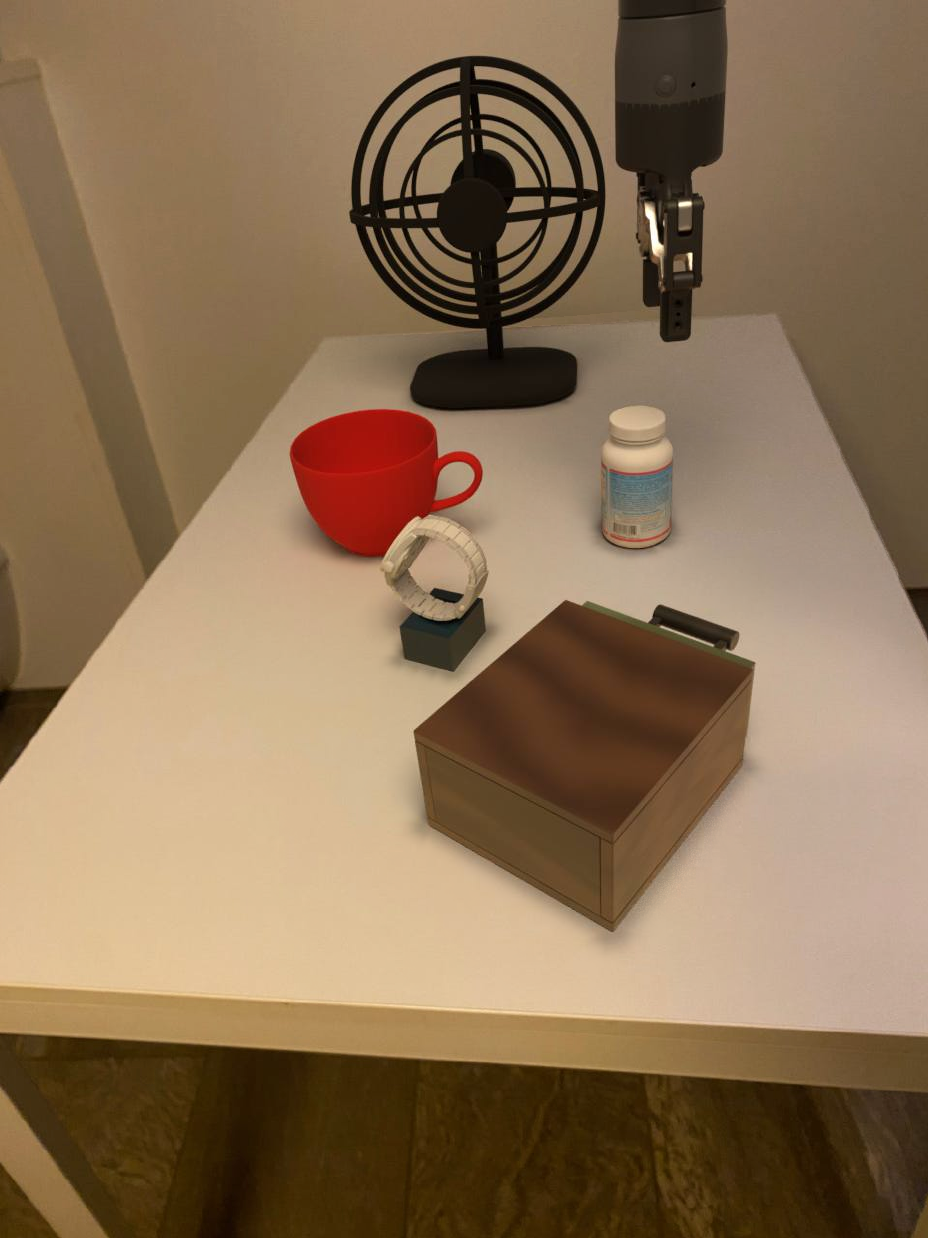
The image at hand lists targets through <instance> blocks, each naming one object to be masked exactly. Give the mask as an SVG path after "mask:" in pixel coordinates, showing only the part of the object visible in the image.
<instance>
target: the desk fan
mask: <svg viewBox="0 0 928 1238" xmlns="http://www.w3.org/2000/svg"><path fill="white" fill-rule="evenodd" d="M475 67H481V68H482V67H483V68H491V69H499V70H503V71H507V72H510V73H513V74H516V75H519V76H521V77H523V78H525V79H527V80H529V81H531V82H533V83H534V84H536V85H538V86H539V87H541V88H542V89H544V90H545V91H546V92H548V93H549V94H550V95H551V96H552V97H554V99H556V100H557V101H558V102H559V103H560V104H561V105H562V106H563V107H564V108H565V110H566V112H568V113H569V115H570V116H571V117H572V119H573V121H574V122H575V124H576V125H577V127H578V128H579V130H580V132H581V134H582V136H583V137H584V140H585V142H586V144H587V146H588V149H589V152H590V155H591V158H592V162H593V166H594V171H595V177H596V185H597V190H595V189H591V188H585V183H584V174H583V168H582V164H581V161H580V156H579V153H578V150H577V148H576V145H575V143H574V141H573V139H572V137H571V135H570V133H569V131H568V130H567V128H566V126H565V125H564V123H563V121H561V119H560V118H559V117H558V116H557V115H556V114H555V112H554V111H553V110H552V109H551V108H550V107H549V106H548V105H547V104H545V102H543V101H542V100H541V99H539V98H538V97H536V96H535V95H533V93H530V92H529V91H527V90H525V89H523V88H521V87H519V86H516V85H515V84H511V83H508V82H504V81H500V80H495V79H486V78H477V76H476V70H475ZM454 69H455V70H456V69H459V80H458V81H453V82H451V83H447V84H444V85H442V86H440V87H437V88H435V89H434V90H431V91H430V92H428V93H426V94H425V95H424V96H422V97H421V98H419V99H418V100H417V101H416V102H414V104H412V105H411V106H410V107H409V108H408V109H407V110H406V111H405V112H404V113H403V115H402V116H401V117H400V118H399V119H398V120H397V121H396V122H395V123H394V124H393V126H392V128H391V129H390V130H389V132H388V133H387V135H386V136H385V138H384V140H383V141H382V143H381V145H380V147H379V150H378V152H377V154H376V157H375V160H374V162H373V166H372V169H371V175H370V180H369V188H368V189H369V191H368V203H366V204H363V205H362V195H361V194H362V193H361V191H362V189H361V188H362V187H361V186H362V175H363V174H362V173H363V167H364V162H365V158H366V154H367V150H368V147H369V144H370V141H371V139H372V137H373V134H374V132H375V130H376V128H377V127H378V125H379V123H380V121H381V120H382V119H383V117H384V115H385V114H386V112H387V111H388V110H389V109H390V107H391V106H392V105H393V104H394V103H395V102H396V101H397V100H398V99H399V98H400V97H401V96H402V95H403V94H405V92H407V91H408V90H410V89H411V88H412V87H414V86H415V85H417V84H419V83H420V82H422V81H424V80H426V79H428V78H430V77H432V76H434V75H438V74H440V73H443V72H445V71H449V70H454ZM479 95H486V96H492V97H497V98H500V99H504V100H507V101H509V102H511V103H514V104H516V105H518V106H520V107H522V108H524V109H525V110H527V111H528V112H530V113H531V114H533V115H534V117H536V118H538V119H539V120H540V122H542V123H543V124H544V125H545V126H546V127H547V128H548V129H549V131H550V132H551V133H552V134H553V135H554V137H555V138H556V139H557V141H558V142H559V144H560V146H561V148H562V150H563V152H564V153H565V156H566V158H567V160H568V163H569V165H570V168H571V171H572V176H573V180H574V184H575V187H570V186H552V185H553V184H552V177H551V172H550V171H551V170H550V168H549V164H548V161H547V158H546V157H545V154H544V152H543V150H542V149H541V148H540V146H539V144H538V143H537V141H536V140H535V138H533V137H532V135H530V133H528V131H526V130H525V129H524V128H522V126H520V125H519V124H517V123H515V122H513V121H512V120H510V119H508V118H505V117H502V116H499V115H496V114H490V113H481V109H480V108H481V107H480V99H479ZM457 96H459V106H460V117H456V118H454V119H453V120H450V121H448V122H447V123H445V124H444V125H442V126H441V127H439V128H438V129H437V130H436V131H435V132H434V133H433V134H432V135H431V136H430V137H429V139H428V140H427V141H426V142H425V144H424V145H423V147H422V148H421V150H420V152H419V153H418V154H417V155H416V156H415V157H414V160H413V161H412V162H411V164H410V165H409V167H408V169H407V171H406V173H405V176H404V178H403V181H402V183H401V188H400V193H399V197H396V198H392V199H385V196H384V182H385V181H384V179H385V172H386V166H387V162H388V158H389V155H390V152H391V150H392V147H393V145H394V142H395V140H396V138H397V137H398V135H399V134H400V131H402V129H403V127H404V126H405V124H406V123H407V122H409V120H411V119H412V118H413V117H414V116H415V115H417V114H418V113H419V112H421V111H423V110H424V109H425V108H428V107H429V106H431V105H432V104H433V105H434V103H438V102H440V101H443V100H445V99H449V98H452V97H457ZM482 121H490V122H496V123H499V124H501V125H504V126H507V127H509V128H511V129H512V130H514V131H515V132H517V133H518V134H520V135H521V136H522V137H523V138H524V139H526V141H527V142H528V143H529V144H530V145H531V147H532V148H533V150H534V151H535V152H536V154H537V156H538V158H539V160H540V163H541V165H542V167H543V171H544V175H545V180H546V183H545V180H544V178H543V175H542V172H541V171H540V169H539V167H538V165H537V164H536V162H535V161H534V159H533V158H532V157H531V155H530V154H529V153H528V152H527V151H526V150H525V149H524V148H523V147H522V146H521V145H519V144H518V143H517V142H516V141H514V140H513V139H511V138H509V137H507V136H506V135H504V134H502V133H499V132H496V131H492V130H489V129H484V128H482ZM459 124H460V128H461V129H457V130H456V129H455V130H453V131H450V132H447V133H445V134H443V133H444V132H445V131H447V130H449V129H451V128H452V127H455V126H457V125H459ZM442 134H443V135H442ZM472 136H473V140H472ZM457 137H461V147H462V160H461V161H460V162H459V163H458V164H457V165H456V167H455V169H454V171H453V173H452V176H451V180H450V185H449V186H447V188H446V189H445V190H444V191H443V192H437V193H427V194H420V195H419V194H417V178H418V174H419V169H420V167H421V166H420V165H421V163H422V160H423V158H424V157H425V155H426V154H428V153H429V152H430V151H431V150H432V149H434V148H435V147H436V146H438V145H440V144H442V143H444V142H445V141H448V140H450V139H454V138H457ZM483 137H488V138H492V139H494V140H497V141H499V142H502V143H504V144H505V145H507V146H509V147H510V148H512V149H513V150H514V151H516V152H517V153H518V154H519V155H520V157H522V158H523V159H524V160H525V161H526V163H527V164H528V165H529V167H530V168H531V170H532V171H533V173H534V175H535V177H536V179H537V181H538V184H539V186H528V187H527V186H524V187H523V186H522V187H517V186H516V185H517V179H516V173H515V171H514V167H513V166H512V164H511V162H510V160H509V159H508V158H506V156H505V155H503V154H502V153H500V152H499V151H497V150H494V149H489V148H484V139H483ZM472 141H473V143H472ZM473 145H474V146H473ZM598 145H599V144H598V143H597V140H596V138H595V136H594V132H593V131H592V129H591V127H590V125H589V123H588V121H587V119H586V118H585V116H584V115H583V113H582V112H581V110H580V109H579V107H578V106H577V104H576V103H575V102H574V101H573V100H572V99H571V98H570V97H569V95H568V94H567V93H566V92H565V91H563V89H561V88H560V87H559V86H558V85H557V84H556V83H555V82H553V81H552V80H551V79H549V78H548V77H547V76H545V75H543V74H542V73H540V72H539V71H537V70H535V69H533V68H532V67H529V66H527V65H524V64H522V63H520V62H517V61H514V60H510V59H506V58H502V57H497V56H491V55H490V56H489V55H466V56H465V55H464V56H457V57H452V58H448V59H445V60H444V59H443V60H440V61H438V62H435V63H432V64H431V65H428V66H426V67H424V68H422V69H420V70H419V71H417V72H415V73H413V74H412V75H411V76H409V77H407V78H406V79H405V80H403V81H402V82H401V83H400V84H399V85H397V86H396V87H395V88H394V89H393V90H392V91H391V92H390V93H389V94H388V95H387V96H386V97H385V98H384V100H383V101H382V102H381V103H380V104H379V106H377V109H376V110H375V111H374V113H373V114H372V116H371V118H370V119H369V121H368V123H367V125H366V126H365V129H364V131H363V133H362V135H361V138H360V140H359V143H358V146H357V149H356V152H355V157H354V161H353V166H352V172H351V173H352V174H351V184H350V186H351V187H350V194H351V195H350V197H351V209H350V210H349V211H348V215H349V221H350V224H353V225H355V230H356V232H357V236H358V238H359V241H360V244H361V246H362V249H363V251H364V253H365V255H366V257H367V259H368V261H369V263H370V265H371V266H372V268H373V269H374V271H375V273H376V274H377V275H378V277H379V278H380V279H381V281H382V282H383V283H384V284H385V285H386V286H387V288H388V289H389V290H390V291H391V292H392V293H393V294H394V295H395V296H397V297H398V299H400V300H401V301H402V302H403V303H404V304H407V305H408V306H409V307H410V308H411V309H413V310H415V311H416V312H418V313H420V314H422V315H424V316H426V317H428V318H429V319H431V320H434V321H437V322H439V323H443V324H445V325H446V324H447V325H448V326H452V327H453V326H454V327H456V328H457V327H458V328H462V329H471V330H472V329H473V330H476V329H477V330H485V334H486V345H487V348H476V349H475V348H474V349H472V348H471V349H463V350H462V349H461V350H455V351H454V350H453V351H448V352H445V353H440V354H437V355H434V356H431V357H429V358H427V359H425V360H423V361H422V362H420V363H419V364H418V365H417V367H416V369H415V372H414V375H413V377H412V379H411V383H410V385H409V390H410V391H409V392H410V396H411V397H412V398H413V399H414V400H415V401H416V402H418V403H421V404H423V405H426V406H431V407H439V408H451V409H452V408H453V409H455V408H456V409H457V408H485V407H486V408H487V407H509V406H511V407H512V406H529V405H536V404H541V403H547V402H550V401H554V400H558V399H560V398H562V397H564V396H567V395H568V394H570V393H572V392H573V391H574V390H575V388H576V387H577V383H578V382H577V381H578V379H577V377H578V359H577V357H576V356H575V355H574V354H573V353H571V352H569V351H566V350H563V349H559V348H554V347H548V346H547V347H546V346H518V347H517V346H516V347H505V346H504V345H505V344H504V331H503V327H508V326H511V325H515V324H519V323H521V322H524V321H527V320H529V319H531V318H533V317H535V316H538V315H539V314H541V313H542V312H544V311H546V310H547V309H549V308H550V307H551V306H553V305H555V304H556V303H557V302H558V301H559V300H561V299H562V297H564V296H565V294H567V292H569V290H571V288H572V287H573V286H575V284H576V282H578V280H579V279H580V277H581V276H582V274H583V273H584V271H585V270H586V268H587V266H588V265H589V264H590V261H591V260H592V257H593V254H594V253H595V250H596V248H597V245H598V242H599V239H600V236H601V232H602V229H603V224H604V218H605V212H606V195H607V194H606V177H605V176H606V175H605V170H604V164H603V159H602V156H601V151H600V149H599V146H598ZM473 147H474V151H473ZM410 179H411V185H410V189H411V190H410V193H411V195H410V196H406V193H407V189H408V185H409V181H410ZM532 197H534V198H537V197H538V198H542V199H543V200H542V202H543V207H542V208H535V209H529V210H519V211H509V210H510V208H511V206H512V204H513V203H514V199H515V198H532ZM552 198H574V199H576V202H570V203H567V204H561V205H555V206H551V203H552ZM428 204H429V205H430V204H437V207H436V217H423V216H422V213H421V211H420V207H419V206H421V205H428ZM405 207H412V208H413V212H414V215H415V217H414V218H413V217H412V218H411V217H409V218H408V217H406V213H405V212H406V211H405ZM595 208H596V214H595V219H594V224H593V227H592V232H591V235H590V237H589V240H588V243H587V246H586V248H585V250H584V252H583V254H582V256H581V258H580V260H579V261H578V263H577V265H576V266H575V267H574V269H573V270H572V271H571V273H570V274H569V275H568V276H567V278H566V279H565V280H564V281H563V282H562V283H561V284H560V286H559V287H557V288H556V289H555V290H554V291H552V292H551V293H550V294H549V295H548V296H546V297H544V299H542V300H540V301H539V302H537V303H535V304H533V305H531V306H529V307H527V308H525V309H523V310H521V311H518V312H514V313H512V314H508V315H504V316H503V315H502V312H503V313H504V312H506V311H510V310H512V309H516V308H518V307H520V306H522V305H525V304H526V303H528V302H529V301H531V300H533V299H534V298H536V297H538V296H540V294H541V293H543V292H544V291H546V289H548V287H550V285H552V284H553V282H554V281H556V279H557V278H558V276H560V274H561V273H562V272H563V270H564V269H565V267H566V265H567V264H568V262H569V260H570V258H571V257H572V254H573V253H574V251H575V248H576V245H577V242H578V241H579V236H580V233H581V229H582V225H583V217H584V212H586V211H589V210H593V209H595ZM394 209H395V210H396V209H398V214H399V216H398V217H388V216H387V212H386V211H388V210H394ZM508 211H509V212H508ZM367 215H369V216H367ZM568 215H574V218H573V222H572V226H571V229H570V231H569V234H568V236H567V238H566V240H565V242H564V244H563V246H562V248H561V249H560V251H559V252H558V254H557V255H556V256H555V258H554V259H553V260H552V261H551V263H549V264H548V266H547V267H546V268H545V269H544V270H543V271H541V272H540V273H539V274H538V275H536V276H535V277H533V278H532V279H530V280H529V281H527V282H525V283H523V284H522V285H520V286H518V287H517V286H516V287H514V288H512V289H510V290H506V291H502V292H501V291H500V290H501V289H500V288H501V287H500V285H501V284H503V283H506V282H509V280H512V279H513V278H515V277H516V276H518V275H519V274H521V272H523V270H525V268H527V267H528V266H529V265H530V263H531V262H532V261H533V259H534V258H535V257H536V256H537V254H538V252H539V250H540V248H541V246H542V244H543V242H544V239H545V237H546V234H547V233H546V232H547V229H548V225H549V224H548V222H549V219H551V218H556V217H557V218H558V217H563V216H568ZM538 220H540V222H539V224H538V225H537V227H536V229H535V231H533V234H532V235H531V236H530V237H529V238H528V240H527V241H525V242H524V243H523V244H521V246H519V247H518V248H516V249H515V250H513V251H511V252H510V253H507V254H505V255H502V256H499V257H498V242H499V241H500V240H501V238H502V237H503V236H504V233H505V232H506V228H507V225H508V224H511V223H519V222H528V221H538ZM367 228H372V230H373V234H374V237H375V240H376V242H377V246H378V247H379V250H380V252H381V254H382V256H383V258H384V260H385V261H386V263H387V264H388V266H389V268H390V269H391V270H392V272H393V273H394V274H395V275H396V277H397V278H398V279H399V280H400V281H401V283H403V284H404V285H405V286H406V288H408V289H409V290H411V291H412V292H413V293H414V294H415V295H417V296H418V297H420V298H422V299H423V300H425V301H426V302H428V303H430V304H432V305H434V306H437V307H438V308H442V309H443V310H446V311H450V312H452V313H453V312H454V313H458V314H464V315H474V316H475V315H476V316H477V317H478V318H476V317H475V318H474V317H473V318H472V317H464V316H459V315H455V314H450V313H447V312H444V311H442V310H439V309H436V308H434V307H432V306H430V305H428V304H427V303H425V302H423V301H421V300H420V299H418V298H417V297H415V296H414V295H413V294H411V293H410V292H409V291H407V289H405V288H404V287H403V286H402V285H401V284H400V283H399V282H398V281H397V280H396V279H395V278H394V276H392V275H391V273H390V272H389V270H387V267H386V266H385V265H384V264H383V262H382V260H381V259H380V257H379V256H378V253H377V251H376V249H375V248H374V245H373V243H372V241H371V238H370V236H369V232H368V229H367ZM392 229H401V231H402V234H403V237H404V239H405V242H406V244H407V246H408V248H409V250H410V252H411V253H412V255H413V256H414V257H415V259H416V260H417V262H419V264H420V265H421V266H422V267H423V269H425V270H426V271H428V272H429V273H430V274H432V275H433V276H434V277H436V278H438V279H439V280H441V281H443V282H445V283H448V284H450V285H453V286H456V287H459V288H464V289H474V293H467V292H462V291H458V290H455V289H451V288H449V287H447V286H444V285H442V284H440V283H438V282H436V281H435V280H433V279H432V278H430V277H428V276H427V275H426V274H424V272H422V271H420V270H419V268H417V266H415V264H413V263H412V261H410V259H409V258H408V257H407V255H406V254H405V253H404V252H403V250H402V248H401V246H400V245H399V243H398V241H397V240H396V238H395V236H394V233H393V232H392ZM409 229H421V230H422V232H423V233H424V235H425V237H426V238H427V239H428V240H429V241H430V242H431V244H432V245H433V246H434V247H435V248H436V249H438V251H440V252H442V253H443V254H444V255H446V256H447V257H449V258H451V259H453V260H454V261H455V260H456V261H457V262H461V263H464V264H468V265H471V272H472V279H473V282H472V281H465V280H460V279H456V278H454V277H451V276H449V275H447V274H445V273H443V272H441V271H439V270H438V269H436V268H435V267H434V266H432V264H430V263H429V262H428V261H427V260H426V259H425V258H424V257H423V256H422V254H421V253H420V252H419V250H418V249H417V247H416V245H415V243H414V242H413V240H412V237H411V235H410V231H409ZM429 229H439V231H440V234H441V235H442V238H444V240H445V241H446V242H447V243H448V244H449V245H450V246H451V247H452V248H454V249H456V250H458V251H460V252H464V253H468V254H470V257H466V256H464V255H461V254H458V253H456V252H454V251H452V250H450V249H449V248H447V247H446V246H445V245H443V244H442V243H441V242H440V241H439V240H438V239H437V238H436V237H435V236H434V234H432V232H431V231H430V230H429ZM538 236H539V237H538ZM536 239H538V240H537V241H536V244H535V246H534V247H533V249H532V251H531V252H530V253H529V255H528V256H527V257H526V259H525V260H524V261H523V262H522V263H520V265H519V266H517V267H516V268H515V269H513V270H512V271H510V272H509V273H507V274H505V275H503V276H500V273H499V264H501V263H505V262H506V261H507V262H508V261H509V260H511V259H513V258H516V257H517V256H518V255H520V254H521V253H523V252H524V251H526V250H527V249H528V248H529V247H530V246H531V245H532V244H533V243H534V241H535V240H536ZM389 247H390V248H389ZM390 249H391V250H390ZM391 251H392V252H391ZM392 253H393V254H394V255H395V256H394V255H393V254H392ZM395 257H396V259H397V260H398V261H399V262H400V263H401V265H402V266H403V267H404V268H405V270H406V271H407V272H408V273H409V274H410V275H411V276H412V277H413V278H414V279H416V280H417V281H418V282H419V283H421V284H422V285H424V286H425V287H427V288H428V289H430V290H431V291H433V292H435V293H437V294H439V295H441V296H444V297H446V298H449V299H452V300H456V301H460V302H466V303H474V304H476V305H470V304H469V305H468V304H463V303H462V304H461V303H456V302H452V301H449V300H448V299H447V300H446V299H445V298H441V297H439V296H437V295H436V294H433V293H431V292H430V291H428V290H427V289H425V288H423V287H422V286H421V285H420V284H419V283H417V282H416V281H415V280H413V278H411V276H409V275H408V273H407V272H406V271H405V270H404V269H403V268H402V266H401V265H400V264H399V263H398V261H397V260H396V259H395ZM507 300H508V301H507ZM503 301H505V302H503Z"/></svg>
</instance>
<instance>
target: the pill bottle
mask: <svg viewBox="0 0 928 1238" xmlns="http://www.w3.org/2000/svg"><path fill="white" fill-rule="evenodd" d="M666 419H667V418H666V414H665V413H664V412H663V411H662V410H661V409H659V408H657V407H653V406H649V405H631V406H625V407H621V408H619V409H616V410H614V411H613V412H611V414H610V415H609V418H608V433H609V436H610V437H609V438H608V439H607V440H606V441H605V442H604V444H603V445H602V447H601V450H600V451H601V452H600V453H601V454H600V471H601V473H600V476H601V477H600V479H601V480H600V481H601V483H600V484H601V485H600V486H601V529H602V530H601V531H602V534H603V535H604V538H606V539H607V540H608V541H609V542H611V543H612V544H614V545H616V546H619V547H623V548H628V549H643V548H649V547H652V546H654V545H657V544H659V543H661V542H662V541H664V540H665V539H666V538H667V537H668V536H669V535H670V532H671V528H672V509H673V508H672V505H673V477H674V475H673V474H674V473H673V472H674V447H673V445H672V444H671V442H670V440H669V439H668V438H667V437H666V436H665V434H666V430H667V426H666V423H667V422H666V421H667V420H666Z"/></svg>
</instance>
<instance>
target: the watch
mask: <svg viewBox="0 0 928 1238" xmlns="http://www.w3.org/2000/svg"><path fill="white" fill-rule="evenodd" d="M429 538H432V539H436V540H437V541H439V542H442V543H444V544H446V546H448V547H449V548H450V549H452V550H453V551H455V552H456V554H458V555H459V557H460V558H461V559H463V561H464V563H465V566H466V567H467V569H469V570H468V572H469V574H468V581H467V584H466V586H465V590H464V593H461V592H455V591H451V590H446V589H442V588H437V587H433V588H432V589H431V591H430V592H429V593H428V592H426V591H425V590H424V589H423V588H422V586H421V585H419V584H418V582H417V581H416V580H415V578H414V577H413V576H412V575H411V572H410V570H409V569H410V568H411V567H412V566H413V564H414V562H415V561H416V559H417V558H418V557H419V555H420V554H421V552H422V551H423V549H424V548H425V546H426V544H427V543H428V540H429ZM379 570H380V571H381V572H383V573H384V579H385V583H386V585H387V586H388V587H389V588H390V589H391V591H392V592H393V593H394V596H396V597H397V599H398V600H400V601H401V603H402V604H403V605H404V606H405V607H406V608H408V609H409V610H411V613H410V614H409V615H408V616H407V617H406V618H405V620H404V621H403V622H402V623H401V624H400V625H399V626H398V628H399V633H400V640H401V645H402V652H403V658H404V660H408V661H411V662H416V663H419V664H423V665H426V666H430V667H435V668H438V669H441V670H444V671H445V670H446V671H449V672H455V670H457V668H458V666H460V664H461V663H462V662H463V660H464V659H465V658H466V657H467V655H468V654H469V653H470V651H471V650H472V649H473V647H474V646H475V645H476V644H477V642H478V641H479V640H480V639H481V638H482V637H483V635H484V633H485V632H486V630H487V627H486V619H485V616H486V615H485V607H484V598H483V597H479V596H480V595H481V593H482V592H483V590H484V588H485V586H486V583H487V580H488V577H489V573H490V571H489V570H488V565H487V558H486V555H485V553H484V550H483V548H482V547H481V545H480V544H479V542H478V541H477V539H476V538H475V536H473V534H471V532H470V531H468V529H467V528H465V527H464V526H463V525H461V524H460V523H458V522H456V521H455V520H452V519H450V518H447V517H444V516H438V515H433V514H429V515H428V516H426V517H425V518H423V519H421V518H420V517H415V518H414V519H412V520H411V521H410V522H409V523H408V524H407V525H406V526H405V528H404V529H403V530H402V531H401V532H400V534H399V535H398V536H397V538H396V539H395V540H394V542H393V543H392V545H391V546H390V548H389V549H388V551H387V553H386V554H385V555H383V559H382V561H381V563H380V566H379Z"/></svg>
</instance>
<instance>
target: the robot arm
mask: <svg viewBox="0 0 928 1238" xmlns="http://www.w3.org/2000/svg"><path fill="white" fill-rule="evenodd" d="M726 5H727V0H617V16H618V19H617V32H616V40H615V48H614V49H615V50H614V135H615V136H614V137H615V138H614V140H615V142H614V145H615V149H614V151H615V163H616V166H618V168H620V169H621V170H623V171H626V172H630V173H635V175H636V178H637V192H636V193H637V194H636V232H635V239H636V240H637V241H636V242H637V244H638V245H639V246H638V253H639V254H640V257H641V258H643V259H642V302H643V305H644V306H645V307H647V308H657V307H659V336H660V338H661V340H662V341H663V342H664V343H674V342H675V343H676V342H685V341H688V340H689V339H690V337H691V335H692V316H693V314H692V312H693V291H694V290H696V289H699V288H701V286H702V283H703V280H704V279H703V278H704V277H703V241H704V240H703V239H704V237H703V236H704V210H705V208H706V205H705V201H704V197H703V196H702V195H700V194H699V192H694V190H693V180H692V176H693V172H694V171H695V170H697V169H698V168H701V167H702V168H705V167H709V166H710V165H713V164H714V163H715V164H716V162H718V161H719V160H720V158H721V157H722V155H723V153H724V137H725V136H724V135H725V117H726V116H725V113H726V94H727V73H728V72H727V71H728V55H729V54H728V53H729V48H728V47H729V43H728V28H727V27H728V26H727V7H726ZM678 261H682V262H683V263H684V268H685V270H681V271H674V262H678Z"/></svg>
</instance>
